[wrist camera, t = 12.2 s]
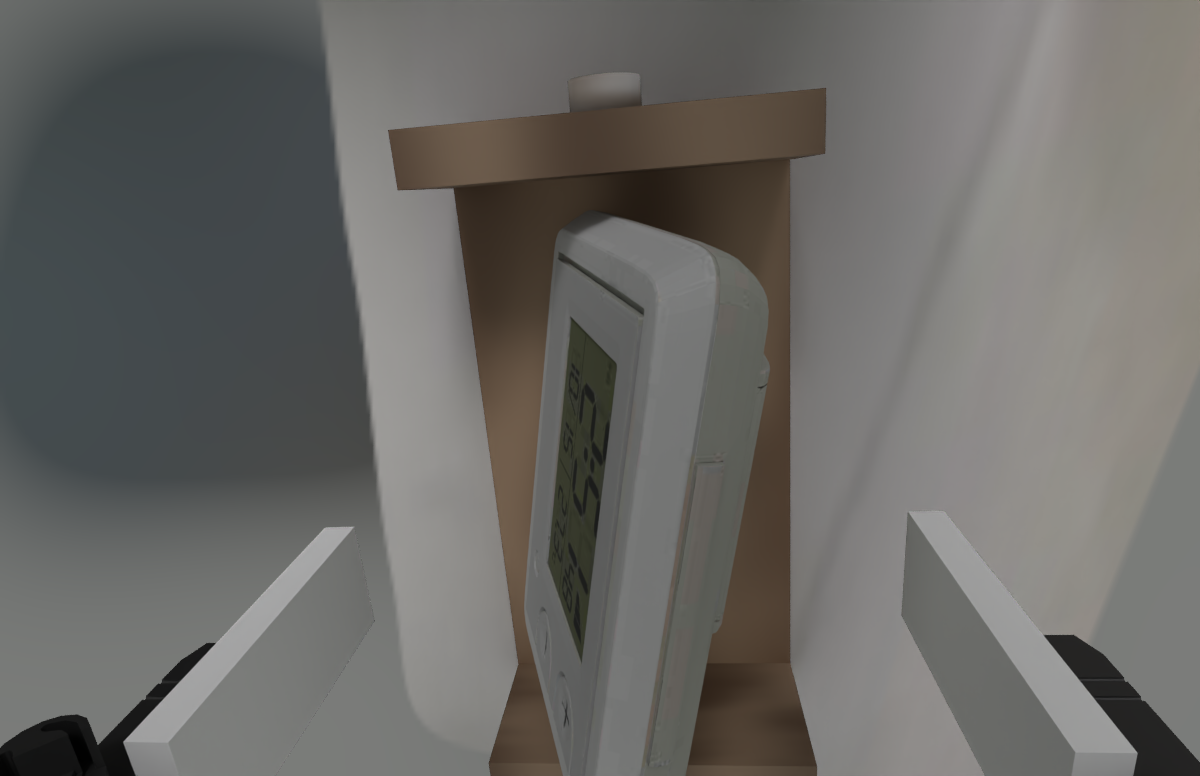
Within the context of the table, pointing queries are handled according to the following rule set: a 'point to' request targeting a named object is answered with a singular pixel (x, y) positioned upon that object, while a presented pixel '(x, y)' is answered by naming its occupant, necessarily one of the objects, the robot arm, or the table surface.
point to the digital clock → (638, 485)
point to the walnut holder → (518, 341)
